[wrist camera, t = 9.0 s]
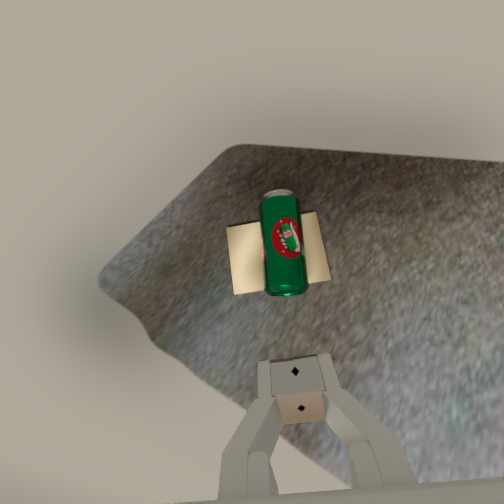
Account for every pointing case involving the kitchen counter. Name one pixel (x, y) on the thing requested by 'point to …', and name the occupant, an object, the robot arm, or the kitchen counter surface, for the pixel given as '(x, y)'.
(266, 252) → the soda can
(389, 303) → the kitchen counter surface
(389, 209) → the kitchen counter surface
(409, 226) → the kitchen counter surface
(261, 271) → the cork mat
